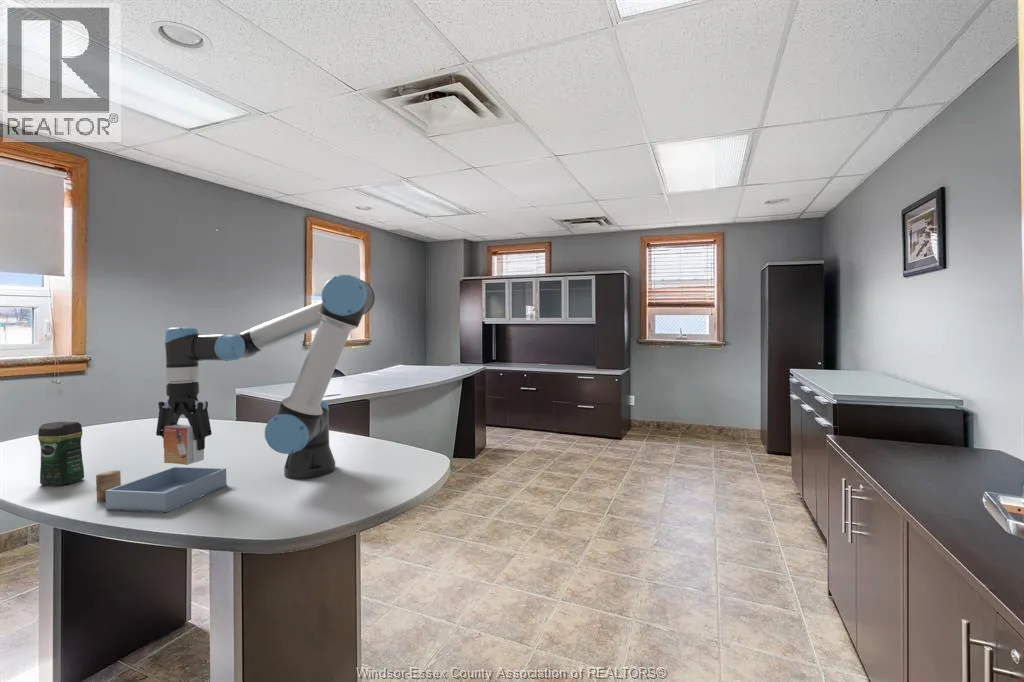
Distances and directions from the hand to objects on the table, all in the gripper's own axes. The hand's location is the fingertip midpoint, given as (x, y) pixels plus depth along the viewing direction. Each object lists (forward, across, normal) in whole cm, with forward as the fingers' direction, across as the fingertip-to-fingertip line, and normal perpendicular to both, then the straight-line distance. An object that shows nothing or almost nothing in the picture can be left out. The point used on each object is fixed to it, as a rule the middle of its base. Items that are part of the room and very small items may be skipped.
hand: (184, 460), depth 129 cm
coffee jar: (+9, +44, -2) cm, 45 cm away
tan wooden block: (+9, +16, +8) cm, 20 cm away
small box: (0, 0, 0) cm, 0 cm away
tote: (+9, 0, +5) cm, 10 cm away
